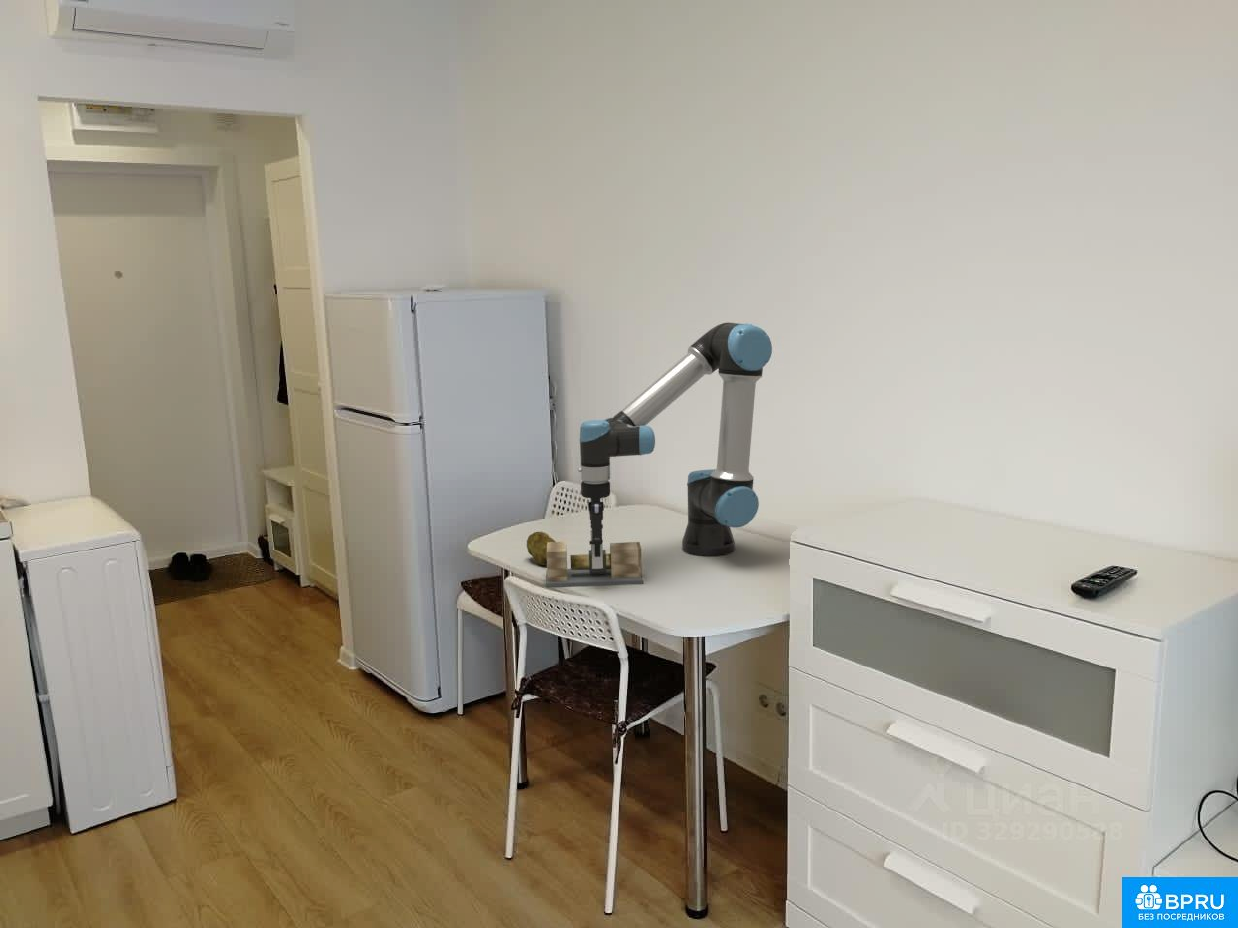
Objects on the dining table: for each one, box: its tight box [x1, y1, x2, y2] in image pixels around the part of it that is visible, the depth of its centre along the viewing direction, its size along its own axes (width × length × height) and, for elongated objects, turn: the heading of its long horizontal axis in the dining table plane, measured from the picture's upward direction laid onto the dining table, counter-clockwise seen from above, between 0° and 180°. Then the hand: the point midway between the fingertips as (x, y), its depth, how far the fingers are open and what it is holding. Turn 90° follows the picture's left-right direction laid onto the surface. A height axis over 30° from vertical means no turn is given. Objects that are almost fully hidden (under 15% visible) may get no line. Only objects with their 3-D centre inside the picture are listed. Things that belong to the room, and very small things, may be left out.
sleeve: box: [609, 541, 643, 578], centre depth 255 cm, size 8×7×8 cm
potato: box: [526, 531, 556, 567], centre depth 270 cm, size 8×13×8 cm, turn 16°
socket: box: [546, 541, 568, 582], centre depth 254 cm, size 5×9×8 cm, turn 3°
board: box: [545, 568, 644, 588], centre depth 255 cm, size 25×12×1 cm, turn 93°
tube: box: [570, 549, 611, 574], centre depth 255 cm, size 17×4×5 cm, turn 93°
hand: (596, 560), depth 255 cm, fingers open, 13 cm apart
